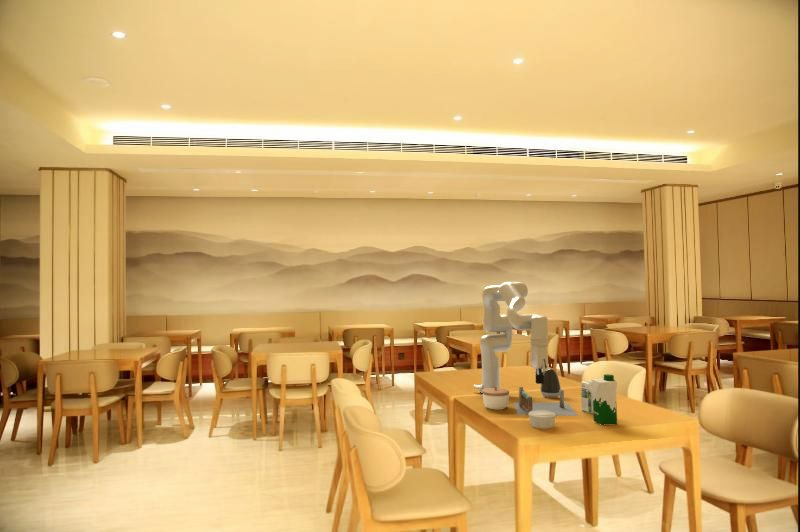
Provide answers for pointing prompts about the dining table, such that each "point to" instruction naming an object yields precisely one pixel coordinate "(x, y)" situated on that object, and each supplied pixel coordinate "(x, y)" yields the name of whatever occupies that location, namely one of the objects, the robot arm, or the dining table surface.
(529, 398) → the gate leaf
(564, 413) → the gate base
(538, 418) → the ramekin
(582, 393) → the syrup box
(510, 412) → the dining table surface
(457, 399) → the dining table surface
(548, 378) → the dark grey rounded block
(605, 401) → the milk carton
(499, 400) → the lidded bowl
